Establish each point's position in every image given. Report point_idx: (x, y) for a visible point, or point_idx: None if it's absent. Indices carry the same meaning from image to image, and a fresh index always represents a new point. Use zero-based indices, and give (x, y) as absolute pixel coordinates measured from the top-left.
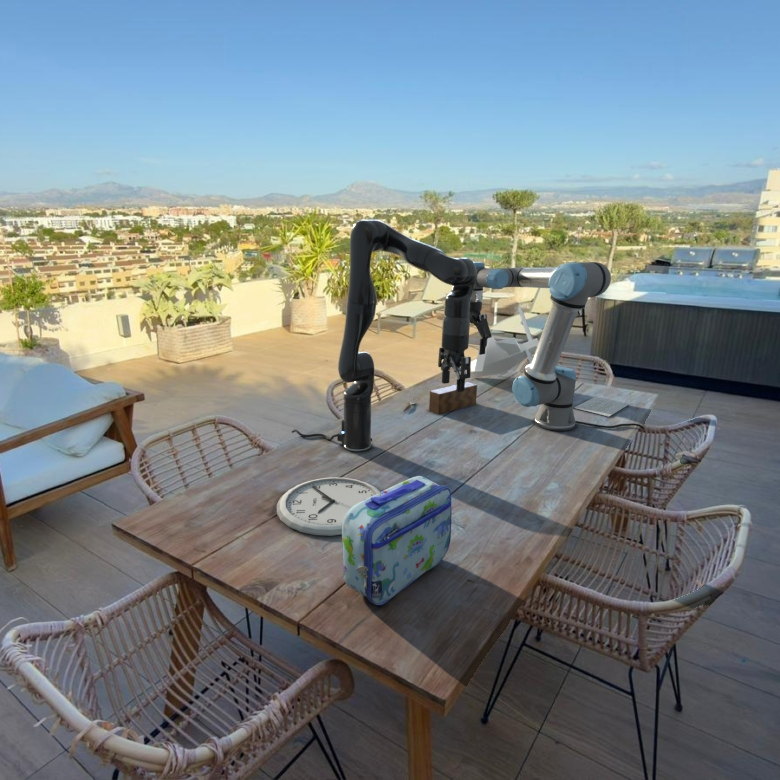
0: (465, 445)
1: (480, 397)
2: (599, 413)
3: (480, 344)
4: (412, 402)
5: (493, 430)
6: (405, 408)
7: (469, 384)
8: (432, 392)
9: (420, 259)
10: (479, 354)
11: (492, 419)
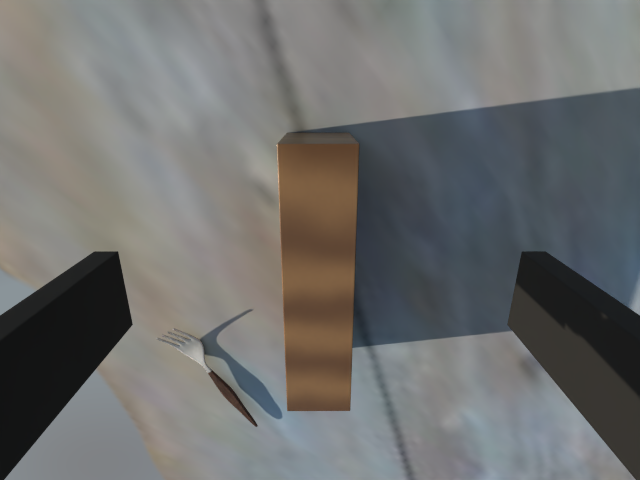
0: (575, 445)
1: (288, 21)
2: None
3: (602, 423)
4: (187, 347)
5: None
6: (240, 411)
7: (325, 180)
8: (305, 408)
9: None
10: (511, 324)
11: (522, 228)
